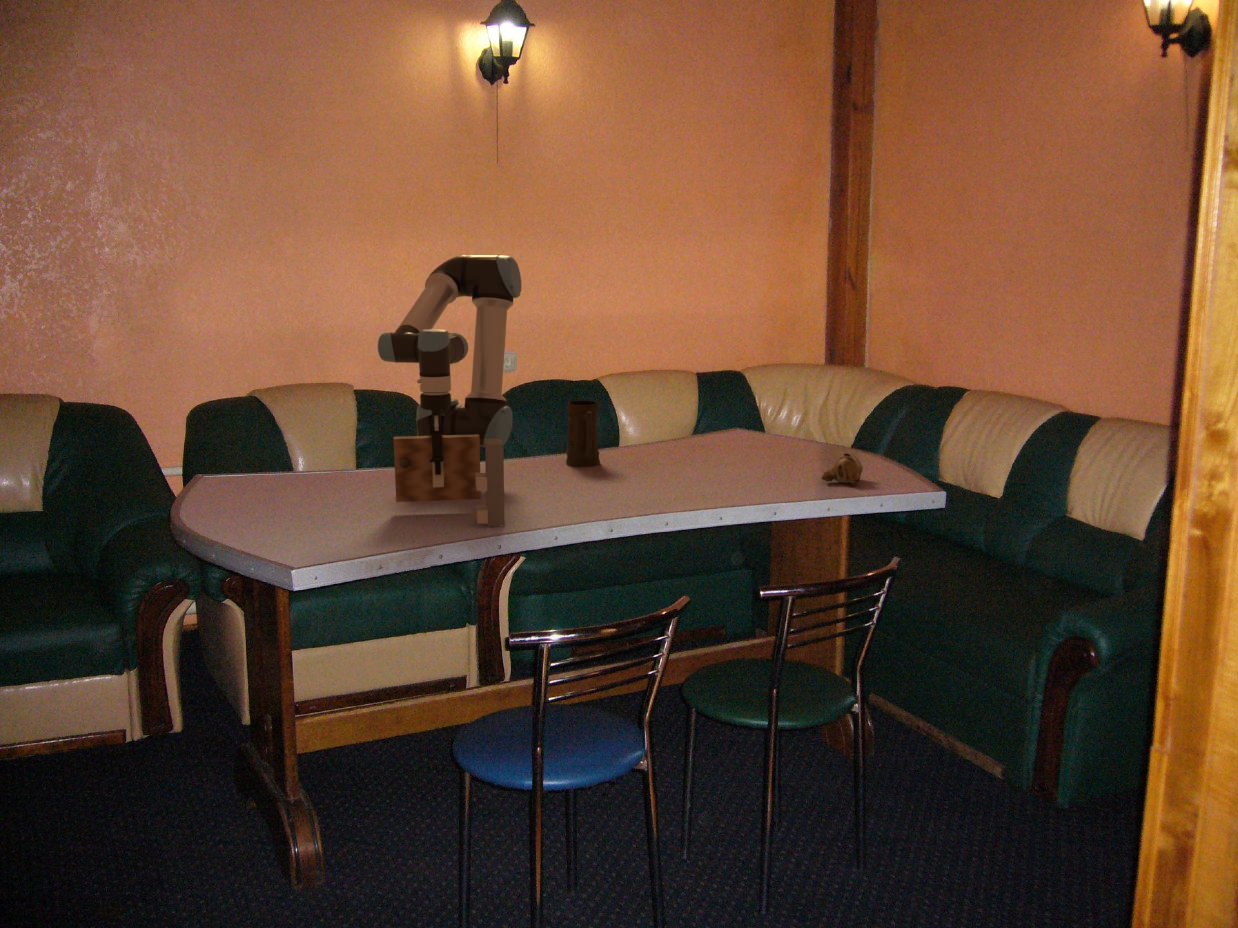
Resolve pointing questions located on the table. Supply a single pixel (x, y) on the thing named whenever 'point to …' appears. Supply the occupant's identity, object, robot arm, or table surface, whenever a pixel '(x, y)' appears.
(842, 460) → the ceramic sculpture
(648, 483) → the table surface
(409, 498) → the door
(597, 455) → the beer stein
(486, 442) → the cabinet side
